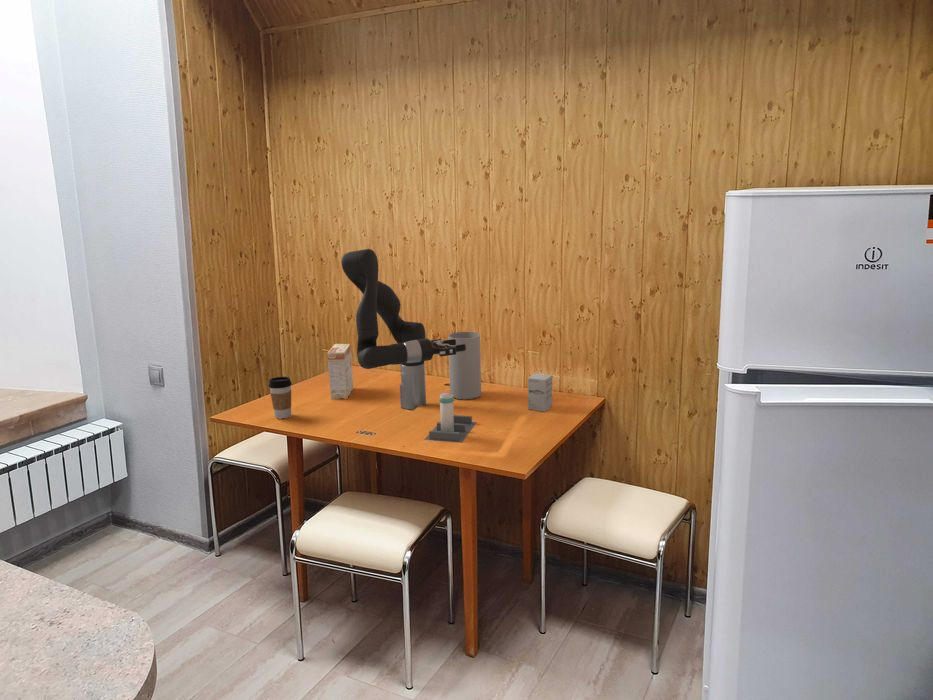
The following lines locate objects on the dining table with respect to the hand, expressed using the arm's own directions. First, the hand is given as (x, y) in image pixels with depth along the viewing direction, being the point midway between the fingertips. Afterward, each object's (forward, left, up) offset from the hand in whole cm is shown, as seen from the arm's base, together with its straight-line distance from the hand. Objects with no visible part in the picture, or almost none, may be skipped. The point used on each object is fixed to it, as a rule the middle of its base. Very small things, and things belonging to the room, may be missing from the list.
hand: (460, 344), depth 253 cm
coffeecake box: (-59, +26, -30) cm, 71 cm away
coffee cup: (-69, -5, -30) cm, 75 cm away
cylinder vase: (-8, +33, -30) cm, 45 cm away
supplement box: (+24, +23, -30) cm, 45 cm away
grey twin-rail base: (-1, -11, -29) cm, 31 cm away
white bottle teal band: (-1, -15, -28) cm, 32 cm away
